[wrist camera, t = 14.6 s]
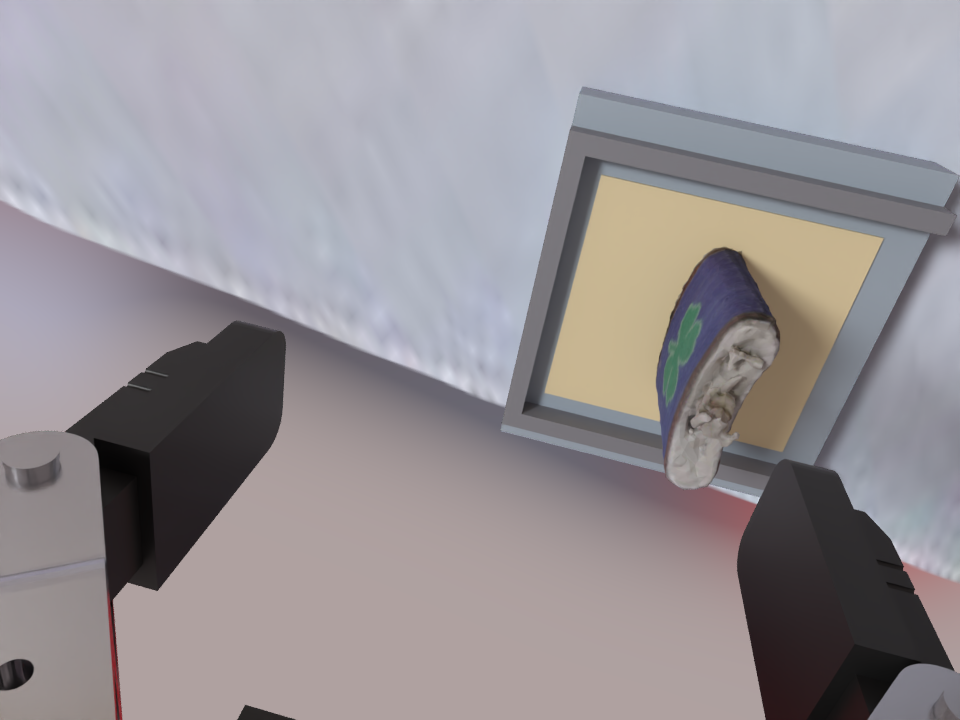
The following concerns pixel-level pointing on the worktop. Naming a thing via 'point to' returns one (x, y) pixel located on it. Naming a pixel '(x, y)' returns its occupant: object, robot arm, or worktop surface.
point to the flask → (710, 364)
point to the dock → (682, 244)
